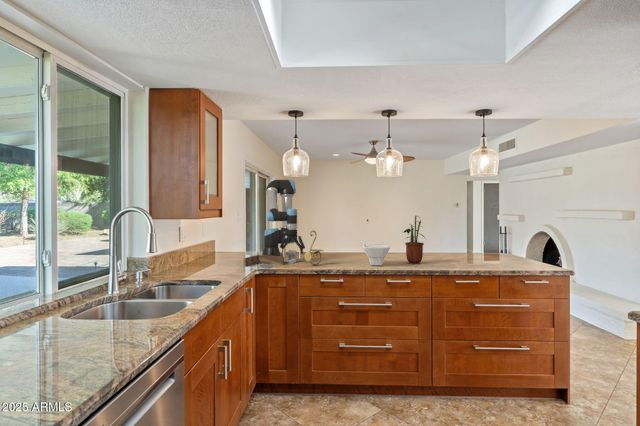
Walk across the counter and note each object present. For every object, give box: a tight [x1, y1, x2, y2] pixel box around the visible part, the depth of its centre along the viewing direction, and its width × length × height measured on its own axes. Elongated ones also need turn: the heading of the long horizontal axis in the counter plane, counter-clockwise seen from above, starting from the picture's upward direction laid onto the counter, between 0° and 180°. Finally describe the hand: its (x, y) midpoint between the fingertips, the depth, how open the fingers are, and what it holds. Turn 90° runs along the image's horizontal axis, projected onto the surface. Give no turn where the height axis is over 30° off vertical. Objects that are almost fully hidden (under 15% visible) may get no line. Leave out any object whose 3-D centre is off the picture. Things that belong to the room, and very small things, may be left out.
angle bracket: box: [284, 249, 297, 265], centre depth 284 cm, size 9×6×9 cm, turn 157°
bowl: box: [362, 244, 391, 266], centre depth 272 cm, size 19×19×14 cm
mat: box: [259, 264, 275, 269], centre depth 269 cm, size 10×13×1 cm
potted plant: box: [402, 215, 426, 265], centre depth 278 cm, size 17×16×35 cm
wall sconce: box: [304, 230, 325, 266], centre depth 274 cm, size 14×10×25 cm
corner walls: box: [243, 254, 285, 267], centre depth 273 cm, size 18×22×6 cm
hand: (292, 257), depth 287 cm, fingers open, 13 cm apart
